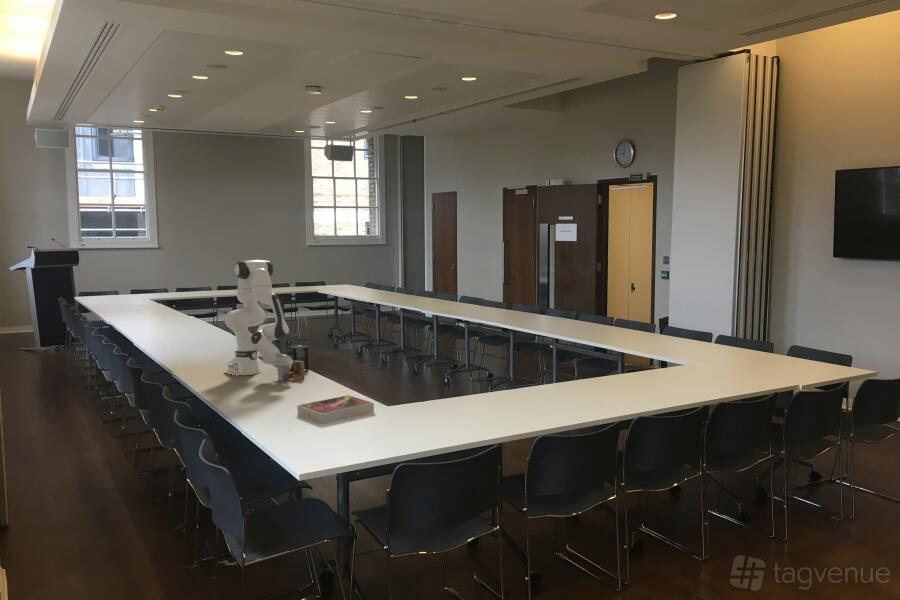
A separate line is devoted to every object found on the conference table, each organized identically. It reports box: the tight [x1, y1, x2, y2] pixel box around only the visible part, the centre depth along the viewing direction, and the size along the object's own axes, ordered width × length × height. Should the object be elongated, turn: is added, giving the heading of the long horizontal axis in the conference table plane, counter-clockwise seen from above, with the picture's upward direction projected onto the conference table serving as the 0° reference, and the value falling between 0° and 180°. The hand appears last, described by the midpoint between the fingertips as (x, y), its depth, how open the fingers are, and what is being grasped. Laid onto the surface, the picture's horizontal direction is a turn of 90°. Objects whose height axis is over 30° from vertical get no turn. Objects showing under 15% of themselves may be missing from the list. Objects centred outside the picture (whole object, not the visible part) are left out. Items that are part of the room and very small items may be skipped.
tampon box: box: [286, 344, 310, 372], centre depth 437 cm, size 11×9×15 cm
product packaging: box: [296, 394, 375, 425], centre depth 336 cm, size 22×28×5 cm
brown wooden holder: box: [284, 361, 305, 382], centre depth 410 cm, size 6×9×10 cm
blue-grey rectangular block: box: [277, 365, 291, 381], centre depth 412 cm, size 4×6×12 cm, turn 151°
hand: (283, 367), depth 412 cm, fingers open, 8 cm apart
